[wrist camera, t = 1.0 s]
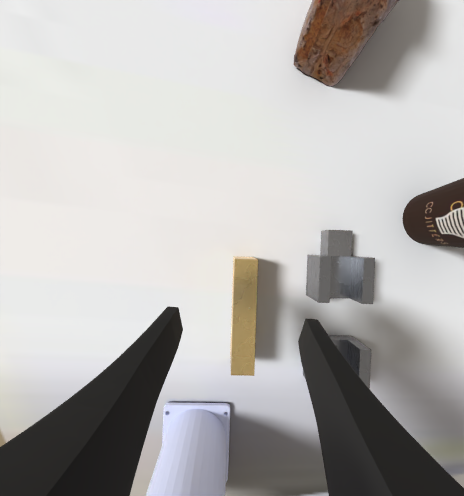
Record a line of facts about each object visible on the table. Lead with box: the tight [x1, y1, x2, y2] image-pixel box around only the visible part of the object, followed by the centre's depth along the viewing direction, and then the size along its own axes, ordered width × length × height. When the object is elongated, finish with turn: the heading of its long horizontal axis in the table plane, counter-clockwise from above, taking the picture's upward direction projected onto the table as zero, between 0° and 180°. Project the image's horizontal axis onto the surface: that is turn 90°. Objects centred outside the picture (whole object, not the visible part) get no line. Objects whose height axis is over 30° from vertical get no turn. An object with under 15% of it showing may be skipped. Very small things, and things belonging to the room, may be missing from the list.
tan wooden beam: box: [230, 257, 258, 376], centre depth 20 cm, size 12×2×4 cm, turn 178°
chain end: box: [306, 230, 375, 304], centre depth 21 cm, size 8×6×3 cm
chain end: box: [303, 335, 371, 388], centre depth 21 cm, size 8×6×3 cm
